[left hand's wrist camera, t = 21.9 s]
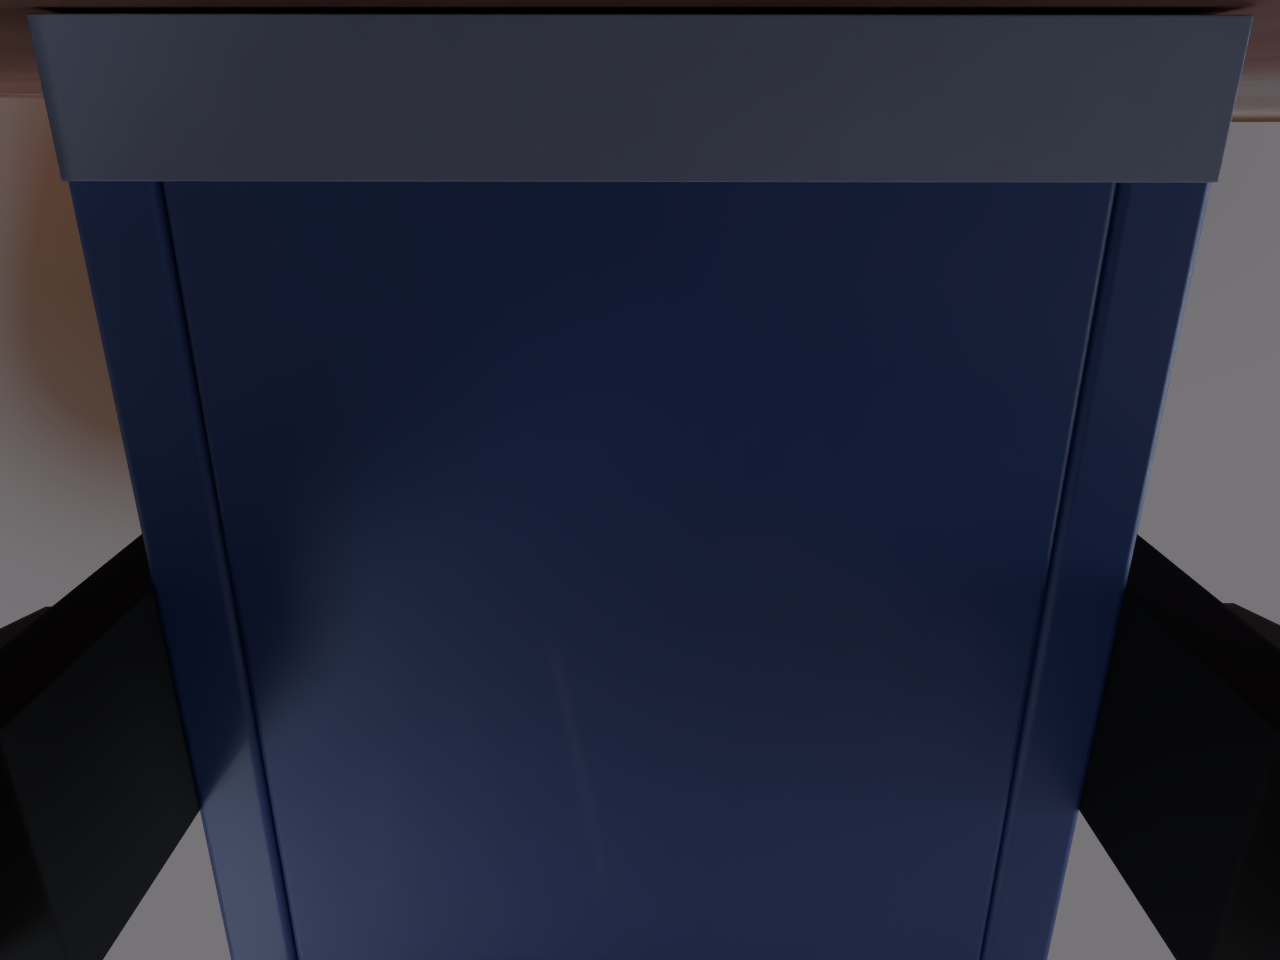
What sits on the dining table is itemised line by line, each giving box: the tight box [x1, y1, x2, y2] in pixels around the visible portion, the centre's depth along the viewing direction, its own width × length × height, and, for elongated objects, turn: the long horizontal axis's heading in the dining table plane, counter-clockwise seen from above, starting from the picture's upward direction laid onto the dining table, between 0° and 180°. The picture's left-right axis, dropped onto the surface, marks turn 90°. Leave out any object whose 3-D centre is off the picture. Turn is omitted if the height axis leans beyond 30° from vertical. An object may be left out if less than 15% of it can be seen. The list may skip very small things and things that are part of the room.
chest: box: [27, 13, 1254, 960], centre depth 16 cm, size 15×10×10 cm, turn 0°
